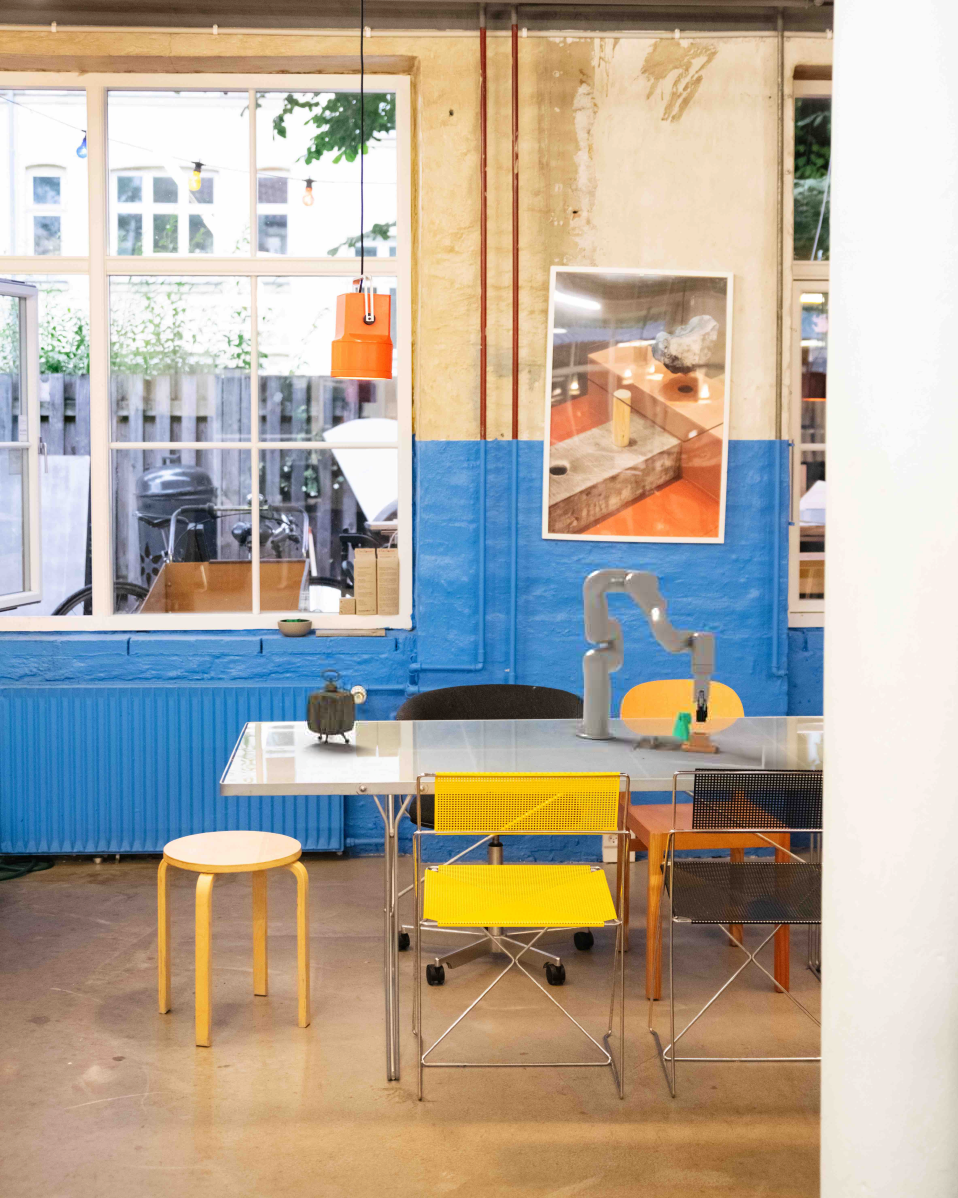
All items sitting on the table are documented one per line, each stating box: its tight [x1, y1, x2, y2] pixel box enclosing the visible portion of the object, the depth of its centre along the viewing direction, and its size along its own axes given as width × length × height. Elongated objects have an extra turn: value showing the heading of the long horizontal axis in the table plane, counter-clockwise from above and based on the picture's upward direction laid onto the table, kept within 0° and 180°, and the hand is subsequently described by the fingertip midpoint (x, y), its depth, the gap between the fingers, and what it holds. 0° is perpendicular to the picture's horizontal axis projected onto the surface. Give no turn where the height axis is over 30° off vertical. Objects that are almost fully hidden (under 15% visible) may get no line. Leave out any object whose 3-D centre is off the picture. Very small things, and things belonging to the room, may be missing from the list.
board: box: [633, 736, 719, 755], centre depth 387 cm, size 27×12×4 cm, turn 76°
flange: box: [680, 730, 717, 754], centre depth 385 cm, size 11×11×5 cm
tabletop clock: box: [306, 668, 356, 745], centre depth 383 cm, size 14×9×25 cm, turn 65°
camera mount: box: [672, 711, 696, 742], centre depth 405 cm, size 12×8×10 cm, turn 13°
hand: (701, 719), depth 384 cm, fingers open, 9 cm apart
